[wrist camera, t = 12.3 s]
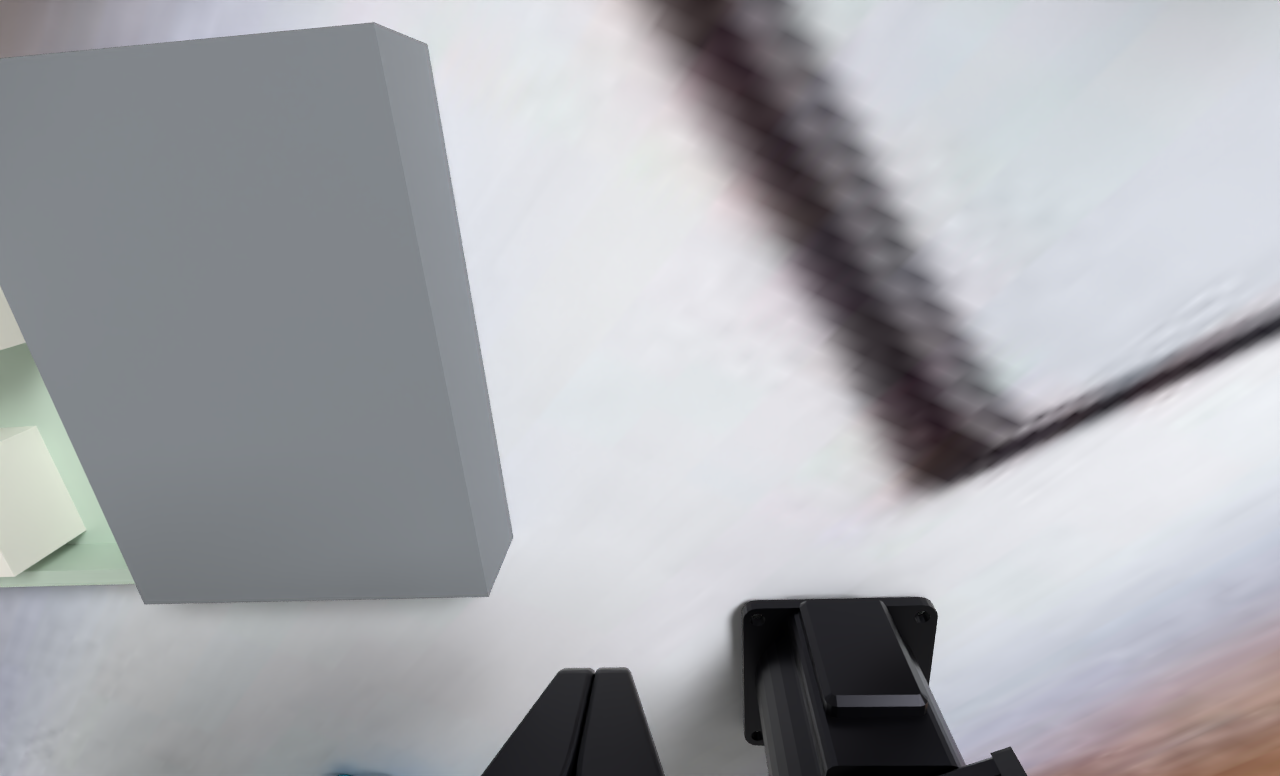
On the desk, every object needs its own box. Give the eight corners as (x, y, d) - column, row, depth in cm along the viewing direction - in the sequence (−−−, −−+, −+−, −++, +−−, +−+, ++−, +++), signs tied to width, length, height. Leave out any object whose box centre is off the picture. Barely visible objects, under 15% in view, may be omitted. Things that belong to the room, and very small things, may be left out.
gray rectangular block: (513, 537, 21) (488, 596, 18) (211, 546, 22) (144, 604, 19) (427, 44, 16) (373, 22, 13) (31, 80, 17) (-99, 67, 14)
